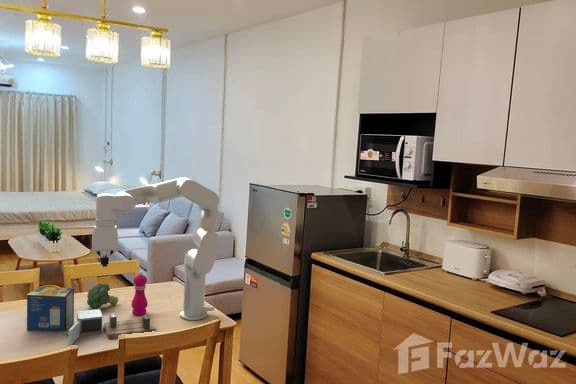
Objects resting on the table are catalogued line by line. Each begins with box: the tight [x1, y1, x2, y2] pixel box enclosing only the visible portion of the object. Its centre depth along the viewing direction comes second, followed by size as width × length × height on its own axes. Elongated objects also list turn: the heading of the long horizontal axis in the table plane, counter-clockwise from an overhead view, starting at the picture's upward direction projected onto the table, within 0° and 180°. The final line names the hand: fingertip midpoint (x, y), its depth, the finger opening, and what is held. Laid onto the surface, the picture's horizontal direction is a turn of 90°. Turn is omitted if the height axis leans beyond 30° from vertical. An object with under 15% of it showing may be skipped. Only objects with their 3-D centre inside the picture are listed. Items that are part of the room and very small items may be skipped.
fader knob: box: [108, 313, 118, 328], centre depth 200 cm, size 2×4×4 cm, turn 27°
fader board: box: [103, 314, 157, 340], centre depth 201 cm, size 19×13×6 cm
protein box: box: [26, 286, 75, 333], centre depth 199 cm, size 10×15×16 cm
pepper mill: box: [130, 271, 149, 317], centre depth 220 cm, size 7×7×20 cm
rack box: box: [76, 308, 103, 336], centre depth 199 cm, size 9×9×7 cm
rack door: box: [66, 319, 81, 346], centre depth 188 cm, size 10×2×6 cm, turn 3°
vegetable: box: [86, 283, 119, 309], centre depth 226 cm, size 12×13×15 cm
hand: (104, 266), depth 199 cm, fingers closed
